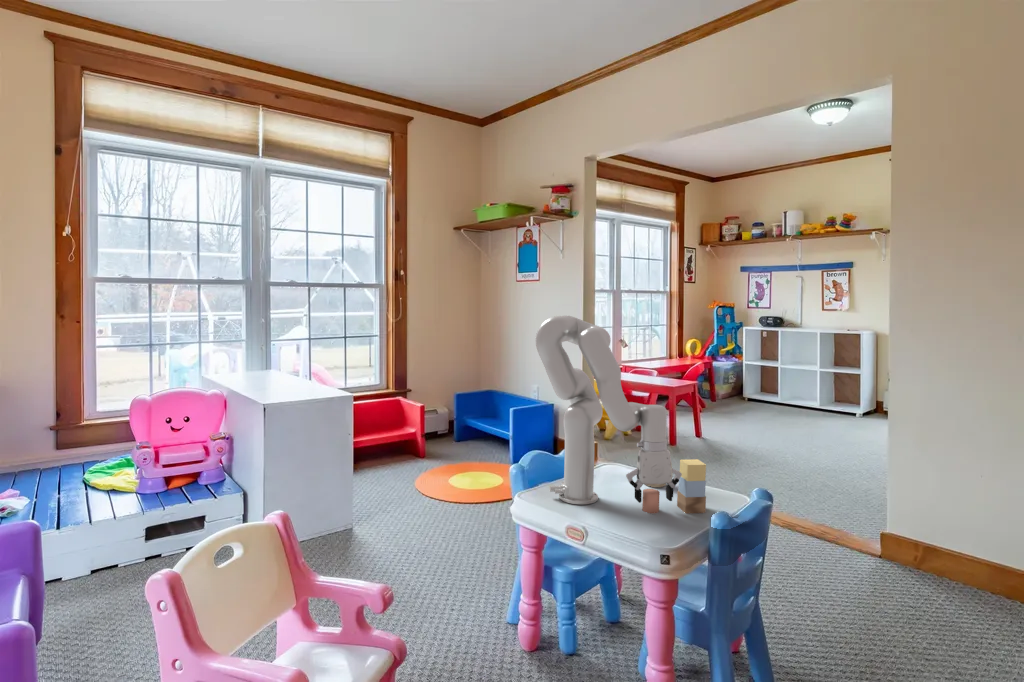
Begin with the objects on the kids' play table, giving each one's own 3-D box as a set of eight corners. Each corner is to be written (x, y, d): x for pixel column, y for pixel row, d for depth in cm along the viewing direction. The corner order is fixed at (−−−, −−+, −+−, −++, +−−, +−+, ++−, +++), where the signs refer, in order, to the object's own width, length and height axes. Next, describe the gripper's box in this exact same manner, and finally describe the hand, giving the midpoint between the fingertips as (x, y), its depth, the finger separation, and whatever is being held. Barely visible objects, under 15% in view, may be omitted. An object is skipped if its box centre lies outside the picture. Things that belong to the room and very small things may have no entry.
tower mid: (686, 497, 179) (686, 481, 178) (678, 490, 185) (679, 475, 184) (705, 496, 180) (705, 480, 179) (696, 490, 185) (697, 474, 185)
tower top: (687, 481, 179) (687, 465, 178) (679, 475, 184) (680, 459, 184) (705, 480, 179) (706, 464, 179) (697, 474, 185) (697, 459, 185)
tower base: (685, 513, 179) (685, 497, 179) (677, 506, 185) (677, 490, 185) (705, 513, 180) (705, 497, 179) (696, 505, 186) (697, 490, 186)
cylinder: (645, 513, 178) (646, 494, 178) (640, 507, 183) (640, 488, 183) (661, 513, 179) (662, 494, 178) (655, 507, 184) (656, 488, 183)
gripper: (630, 449, 175) (630, 506, 176) (686, 447, 177) (685, 503, 178) (622, 443, 182) (622, 498, 183) (676, 441, 184) (676, 495, 185)
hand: (653, 500), depth 180 cm, fingers open, 9 cm apart
